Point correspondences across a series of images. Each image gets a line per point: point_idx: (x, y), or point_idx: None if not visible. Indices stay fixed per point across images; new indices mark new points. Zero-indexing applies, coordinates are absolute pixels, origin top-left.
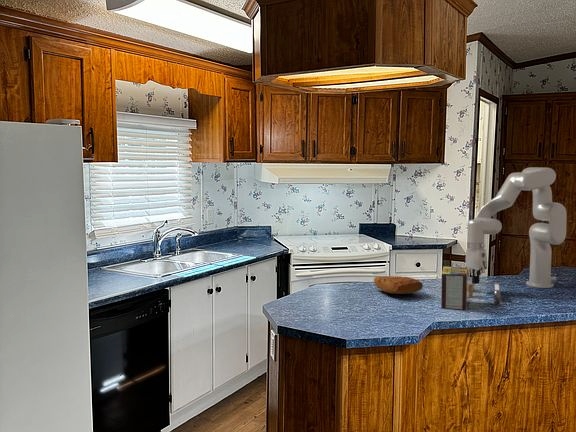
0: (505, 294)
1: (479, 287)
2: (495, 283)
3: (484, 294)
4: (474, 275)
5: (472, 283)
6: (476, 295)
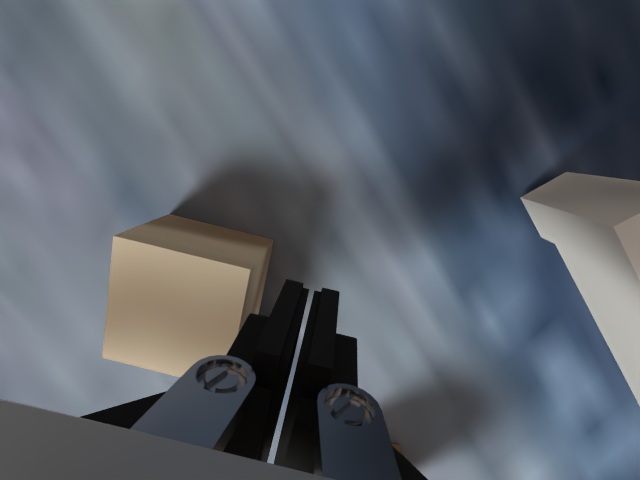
0: (620, 73)
1: (188, 6)
2: (636, 242)
3: (429, 275)
4: (265, 438)
5: (233, 291)
6: (393, 371)
